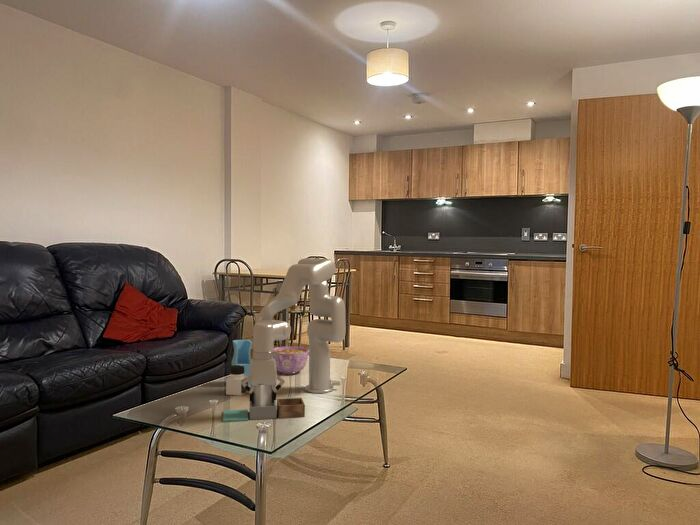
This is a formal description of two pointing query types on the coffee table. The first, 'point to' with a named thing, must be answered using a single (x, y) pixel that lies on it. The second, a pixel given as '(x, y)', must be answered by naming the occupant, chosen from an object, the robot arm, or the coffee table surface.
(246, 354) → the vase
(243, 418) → the teal pad
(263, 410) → the grey bin
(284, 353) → the bowl of food
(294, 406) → the walnut bin
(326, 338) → the robot arm
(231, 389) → the medicine bottle
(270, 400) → the skincare box
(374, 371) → the coffee table surface
